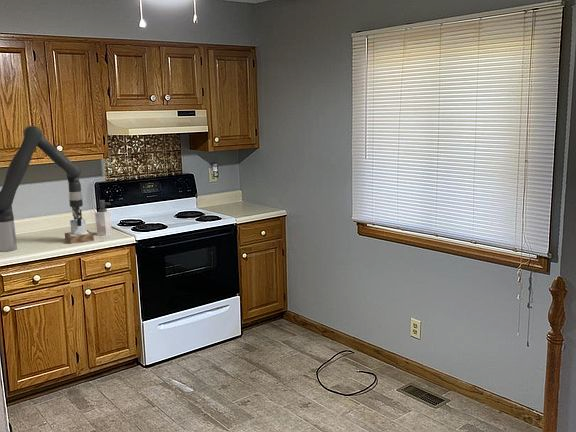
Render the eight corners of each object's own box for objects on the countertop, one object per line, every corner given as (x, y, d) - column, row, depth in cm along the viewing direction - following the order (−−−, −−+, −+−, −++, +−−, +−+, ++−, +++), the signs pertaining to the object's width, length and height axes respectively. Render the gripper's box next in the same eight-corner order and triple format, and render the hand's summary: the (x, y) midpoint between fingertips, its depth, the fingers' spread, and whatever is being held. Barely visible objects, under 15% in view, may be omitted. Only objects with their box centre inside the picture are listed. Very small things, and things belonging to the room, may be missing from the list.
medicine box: (83, 231, 360) (81, 218, 359) (86, 232, 357) (85, 219, 356) (71, 234, 355) (69, 220, 353) (74, 235, 352) (73, 221, 350)
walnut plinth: (70, 243, 348) (69, 237, 347) (65, 239, 359) (64, 232, 359) (93, 240, 355) (93, 233, 354) (88, 236, 367) (87, 229, 366)
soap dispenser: (109, 235, 367) (106, 201, 363) (97, 235, 370) (94, 201, 365) (115, 233, 373) (112, 199, 369) (103, 232, 376) (100, 199, 371)
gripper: (66, 197, 356) (69, 223, 359) (71, 200, 344) (74, 227, 347) (79, 196, 360) (81, 222, 363) (84, 199, 348) (87, 226, 351)
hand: (77, 224), depth 355 cm, fingers open, 8 cm apart
